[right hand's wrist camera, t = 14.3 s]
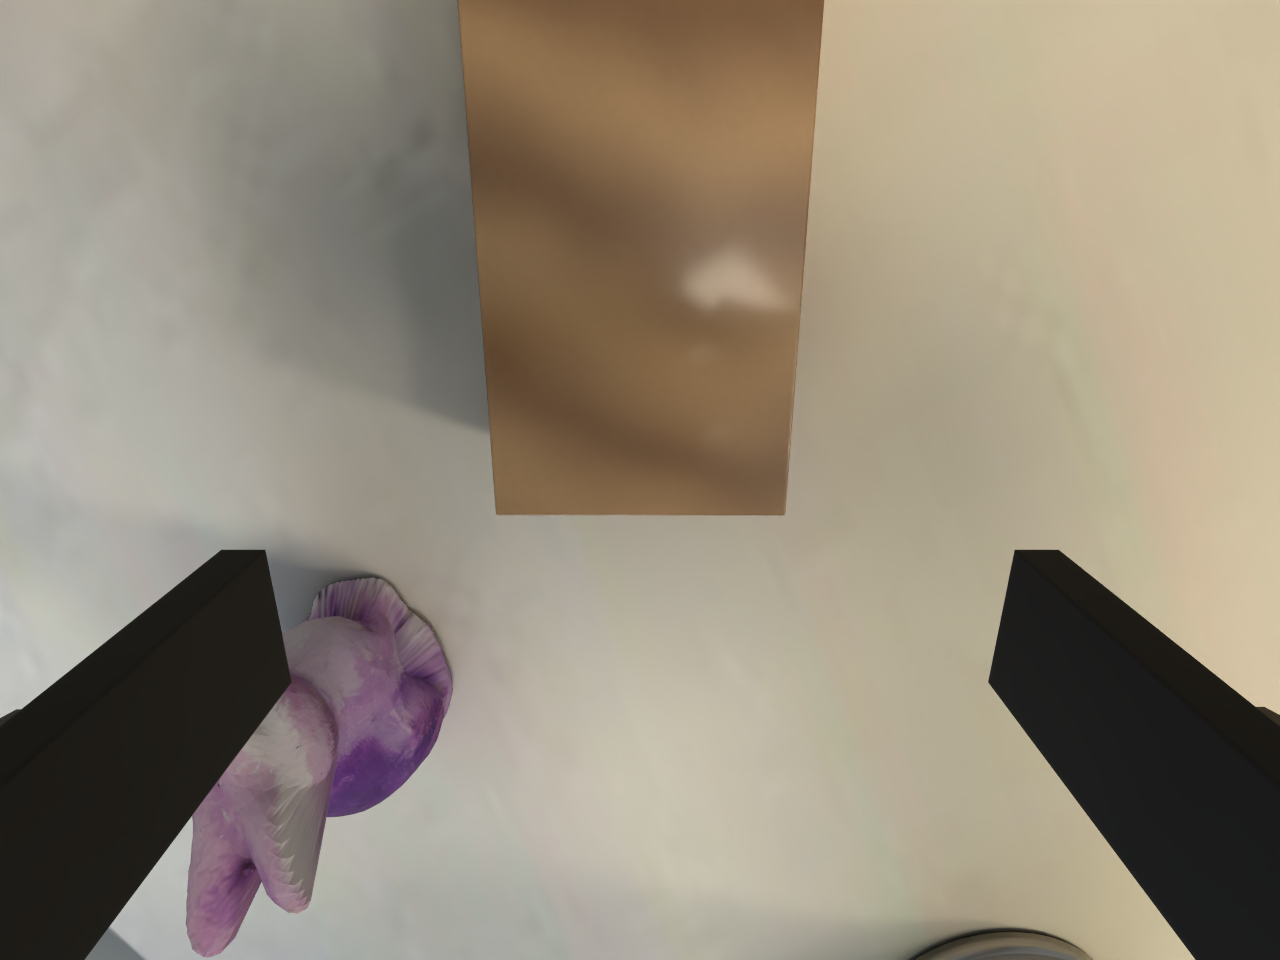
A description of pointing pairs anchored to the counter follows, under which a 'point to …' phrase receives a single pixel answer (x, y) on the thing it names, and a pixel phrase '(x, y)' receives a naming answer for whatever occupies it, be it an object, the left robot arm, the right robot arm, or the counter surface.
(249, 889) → the figurine
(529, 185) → the cabinet
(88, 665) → the right robot arm
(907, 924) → the counter surface
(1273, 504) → the counter surface
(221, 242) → the counter surface
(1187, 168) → the counter surface
